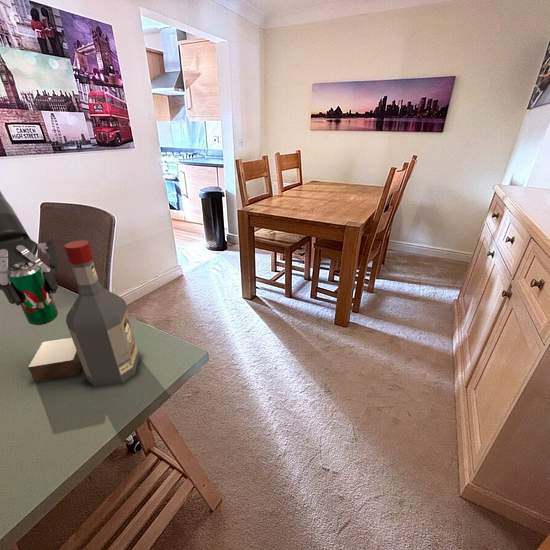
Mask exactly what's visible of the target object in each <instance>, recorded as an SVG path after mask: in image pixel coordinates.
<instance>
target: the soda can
mask: <svg viewBox="0 0 550 550" xmlns="http://www.w3.org/2000/svg"><path fill="white" fill-rule="evenodd" d="M7 270H8V273H7V276H8V279H9V284H11V285H12V286H13V288H14V290H15V291H16V293H17V295H18V296H19V298H20V300H21V305H20V308H21V310H22V312H23V314H24V316H25V318H26V321H27V322H28V324H30V325H32V326H42V325H43V326H44V325H47V324H49V323H51V322H53V321H54V320H56V319H57V317H58V315H59V311H58V307H57V305H56V303H55V299H54V297H53V294H52V293H51V291H50V290H49V287H48V284H47V282H46V279H45V277H44V274H43V271H42V269H41V267H40V266H38V265H37V263H36V262H34V261H25V262H20V263H16V264H14V265H11V266H10V267H8V269H7Z"/></svg>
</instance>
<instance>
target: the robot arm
mask: <svg viewBox="0 0 550 550" xmlns="http://www.w3.org/2000/svg"><path fill="white" fill-rule="evenodd" d="M38 251H41V252H42V254H44V255H47V258H48V259H47V260H48V262H49V264H48V265H47V264H45V263H44V262H43V261H42V260H41V259H40V258H39V257H37V253H38ZM25 261H34V262H36V263H37V265H38V266H40V267H41V269H42V271H43V274H44V277H45V279H46V282H47V284H48V287H49V290H50V292H51V295H54V294H56V293H57V290H58V289H59V283H58V281H57V279H56V278H55V277H54V274H53V273H55V272H59V266H60V263H59V258H58V256H57V251H56V247H55V243H54V241H53V240H49V239H48V240H47V241H46V242H39V243H37V242H36V241H34V240H33V239H31V238H30V236H29V233H28V232H27V229H25V227H24V225H23V223H22V222H21V220H20V218H19V217H18V215H17V213H16V211H15V210H14V208H13V207H12V205H11V204H10V203H9V201H8V200H7V199H6V198H5V196H4V194H3V193H2V190H0V291H2V292H3V294H4V296H5V298H6V300H7V301H8V303H9V304H11V305H15V306H16V307H18V306H21V300H20V298H19V296H18V295H17V293H16V291H15V290H14V288H13V286H12V285H11V283H10V281H9V279H8V276H7V273H8V270H7V269H8V267H10V266H11V265H14V264H16V263H20V262H25Z"/></svg>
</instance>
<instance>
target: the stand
mask: <svg viewBox="0 0 550 550" xmlns="http://www.w3.org/2000/svg"><path fill="white" fill-rule="evenodd" d="M82 368H83V366H82V364H81V361H80V358H79V356H78V353H77V350H76V348H75V345H74V342H73V339H72V337H68V338H61V339H60V338H59V339H53V340H47V341H42V342H41V344H40V346H39V347H38V350H37V351H36V353H35V354H34V357H33V358H32V360H31V362H30V363H29V365H28V366H27V369H28V371H29V372H30V375H31V376H32V379H33V381H34V382H35V383H38V382H45V381H49V380H56V379H60V378H66V377H73V376H77V375H79V374H80V372H81V370H82Z"/></svg>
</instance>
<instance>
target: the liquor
mask: <svg viewBox="0 0 550 550" xmlns="http://www.w3.org/2000/svg"><path fill="white" fill-rule="evenodd" d="M64 250H65V253H66V256H67V259H68V262H69V264H70V265H71V269H72V271H73V274H74V278H75V281H76V284H77V288H78V290H77V293H78V296H77V298H76V299H75V301H74V302H73V304H72V306H71V307H70V309H69V311H68V312H67V314H66V318H65V324H66V326H67V328H68V331H69V334H70V338H72V339H73V342H74V345H75V348H76V350H77V353H78V356H79V358H80V361H81V364H82V369H83V372H84V374H85V377H86V379H87V381H88V382H89V383H90V384H92V385H93V386H94V387H100V386H107V385H114V384H122V383H125V381H127V380H129V379H130V378H132V377H134V375H135V374H136V372H137V368H138V367H137V366H138V363H139V359H140V355H139V349H138V347H137V342H136V339H135V335H134V331H133V327H132V322H131V318H130V315H129V310H128V307H127V302H126V301H125V299H124V298H123V297H121V296H119V295H118V294H116V293H113V292H112V291H109V290H108V289H106V288H104V287H103V284H102V283H101V282H100V279H99V275H98V273H97V270H96V267H95V263H94V255H93V252H92V249H91V246H90V242H89V241H88V240H83V239H82V240H74V241H70V242H67V243H65V244H64Z"/></svg>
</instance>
